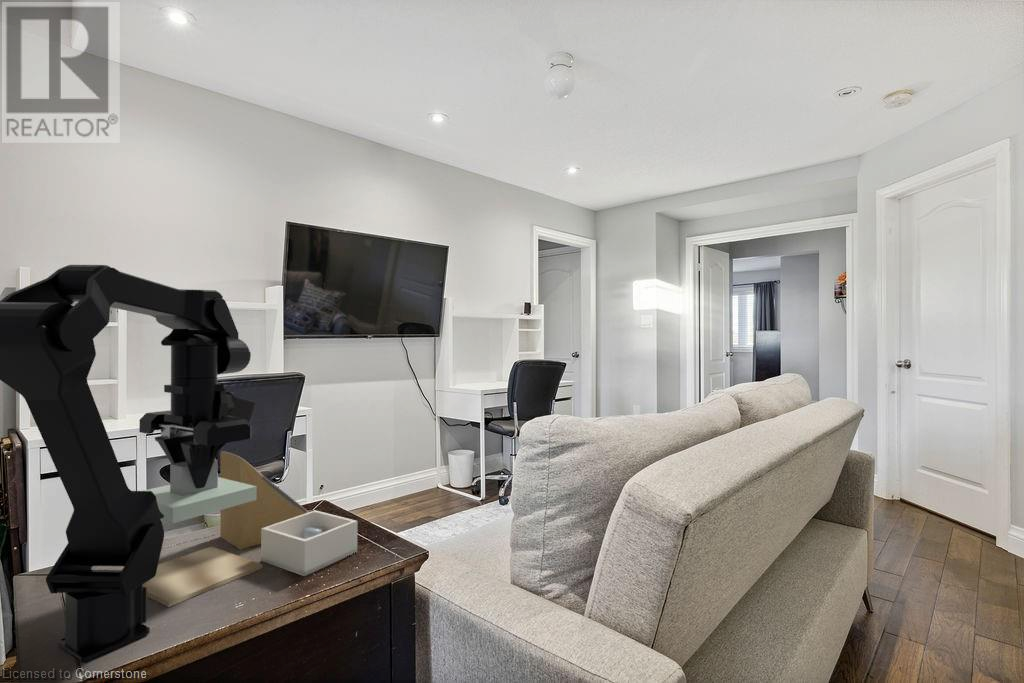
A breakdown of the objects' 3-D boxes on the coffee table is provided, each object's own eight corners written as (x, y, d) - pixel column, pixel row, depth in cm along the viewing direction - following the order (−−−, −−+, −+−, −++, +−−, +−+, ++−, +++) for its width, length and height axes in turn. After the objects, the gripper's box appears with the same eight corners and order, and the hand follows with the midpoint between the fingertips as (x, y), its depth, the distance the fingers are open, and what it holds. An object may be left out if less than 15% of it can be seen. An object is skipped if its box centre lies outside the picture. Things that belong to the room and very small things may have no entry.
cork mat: (168, 606, 66) (168, 602, 66) (118, 582, 73) (118, 578, 73) (262, 568, 77) (262, 564, 77) (211, 550, 84) (211, 546, 84)
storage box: (304, 576, 75) (304, 541, 75) (261, 561, 80) (261, 528, 80) (357, 552, 84) (357, 520, 84) (314, 539, 89) (315, 510, 89)
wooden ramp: (327, 525, 96) (328, 443, 96) (240, 550, 84) (241, 457, 84) (304, 514, 102) (305, 437, 101) (219, 537, 90) (220, 450, 90)
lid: (172, 523, 67) (173, 476, 67) (128, 508, 73) (128, 465, 73) (256, 499, 77) (256, 459, 77) (211, 488, 83) (211, 450, 83)
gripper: (285, 377, 77) (285, 482, 77) (213, 372, 87) (212, 466, 87) (210, 382, 68) (209, 502, 68) (137, 375, 77) (137, 481, 77)
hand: (193, 486), depth 75 cm, fingers closed on lid, 3 cm apart
